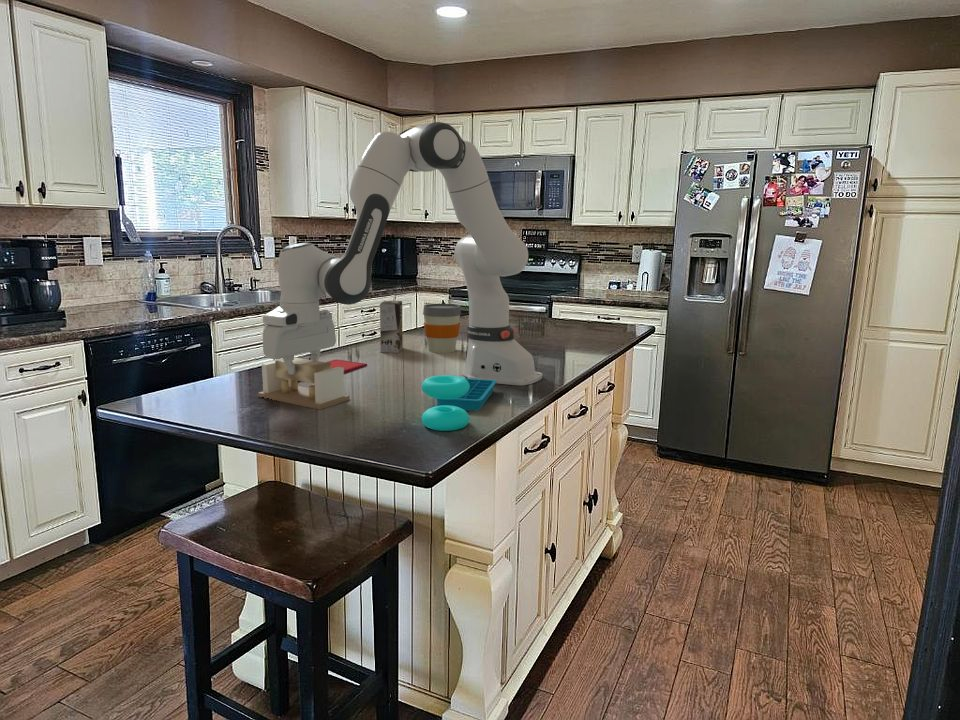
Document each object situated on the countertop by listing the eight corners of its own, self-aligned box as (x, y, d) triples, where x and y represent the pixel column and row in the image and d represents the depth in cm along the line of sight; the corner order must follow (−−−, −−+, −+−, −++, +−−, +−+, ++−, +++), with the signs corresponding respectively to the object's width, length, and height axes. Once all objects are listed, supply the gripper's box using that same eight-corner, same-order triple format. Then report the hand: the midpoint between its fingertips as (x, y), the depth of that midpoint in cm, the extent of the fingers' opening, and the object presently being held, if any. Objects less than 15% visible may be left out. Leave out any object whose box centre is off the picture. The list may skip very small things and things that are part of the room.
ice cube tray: (497, 391, 164) (497, 380, 163) (481, 413, 145) (481, 400, 144) (453, 388, 166) (453, 377, 166) (431, 410, 147) (431, 397, 146)
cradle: (349, 399, 153) (348, 367, 151) (319, 409, 145) (318, 375, 143) (289, 388, 163) (287, 357, 161) (258, 396, 154) (256, 364, 153)
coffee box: (399, 353, 208) (399, 303, 205) (379, 352, 208) (379, 303, 205) (403, 347, 217) (402, 300, 214) (384, 347, 217) (383, 300, 214)
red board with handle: (254, 382, 169) (300, 390, 163) (254, 372, 168) (300, 379, 162) (325, 362, 195) (367, 368, 190) (325, 353, 195) (367, 359, 189)
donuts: (476, 376, 136) (458, 387, 127) (476, 421, 138) (458, 435, 129) (434, 372, 139) (413, 382, 130) (434, 416, 141) (413, 429, 132)
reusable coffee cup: (427, 346, 221) (427, 302, 218) (463, 347, 219) (463, 304, 216) (419, 353, 209) (419, 307, 205) (457, 354, 207) (457, 308, 204)
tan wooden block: (276, 376, 154) (275, 360, 153) (291, 372, 158) (290, 356, 157) (316, 384, 147) (315, 367, 146) (331, 379, 152) (330, 363, 151)
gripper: (321, 307, 160) (323, 361, 163) (256, 317, 142) (260, 377, 145) (340, 309, 157) (342, 364, 160) (276, 320, 139) (280, 381, 142)
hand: (302, 371), depth 152 cm, fingers closed on tan wooden block, 5 cm apart
